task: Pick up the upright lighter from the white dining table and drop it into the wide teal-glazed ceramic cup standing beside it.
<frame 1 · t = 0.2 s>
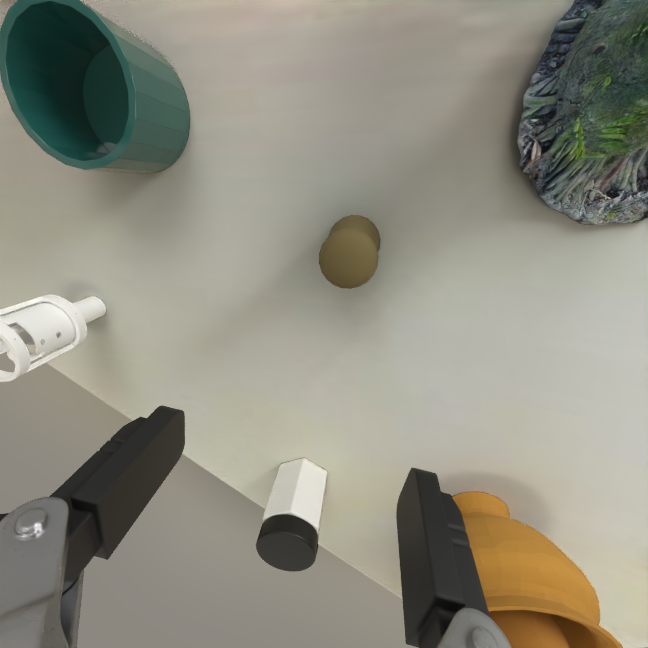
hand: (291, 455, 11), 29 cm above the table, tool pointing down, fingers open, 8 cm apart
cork: (353, 242, 36), on the table
jar: (303, 475, 52), on the table
ceramic cup: (136, 110, 34), on the table
decorative bowl: (473, 514, 50), on the table
tree stump: (616, 114, 29), on the table
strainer: (96, 306, 45), on the table
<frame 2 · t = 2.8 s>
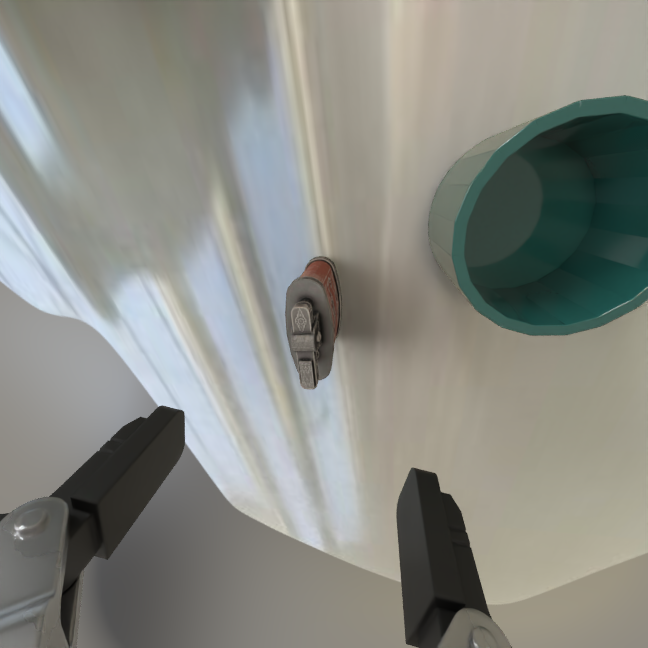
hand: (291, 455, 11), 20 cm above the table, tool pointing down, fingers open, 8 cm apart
ceramic cup: (508, 218, 25), on the table
lighter: (324, 298, 30), on the table
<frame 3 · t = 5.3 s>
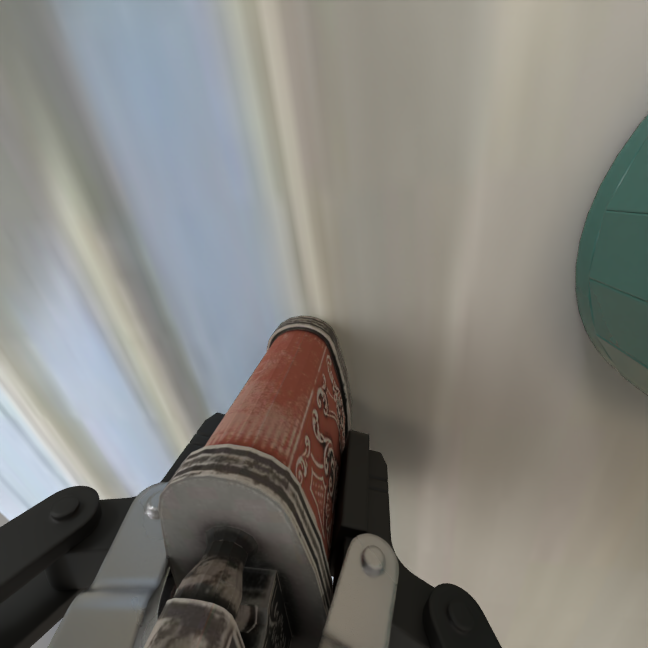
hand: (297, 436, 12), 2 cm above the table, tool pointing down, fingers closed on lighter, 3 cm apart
lighter: (313, 399, 14), on the table, touching gripper
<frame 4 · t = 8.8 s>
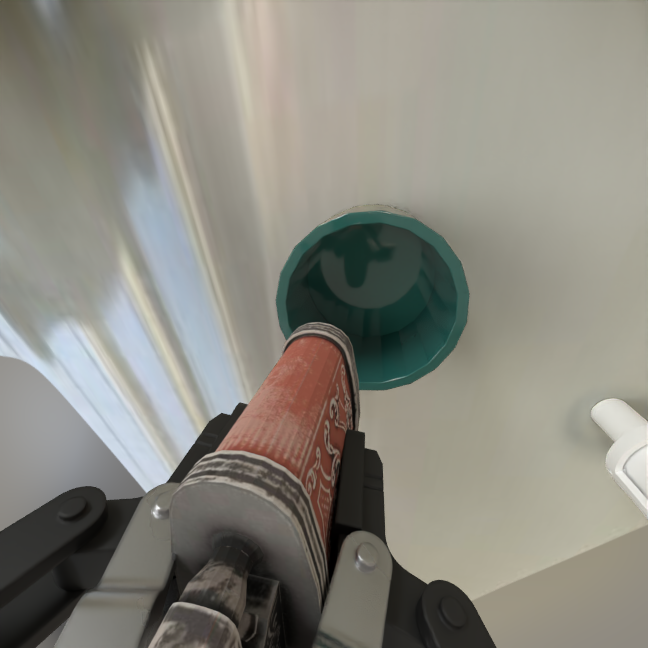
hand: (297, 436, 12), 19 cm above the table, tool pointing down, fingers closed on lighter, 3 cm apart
ceramic cup: (369, 277, 28), on the table
lighter: (322, 405, 14), point 16 cm above the table, touching gripper
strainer: (607, 410, 30), on the table
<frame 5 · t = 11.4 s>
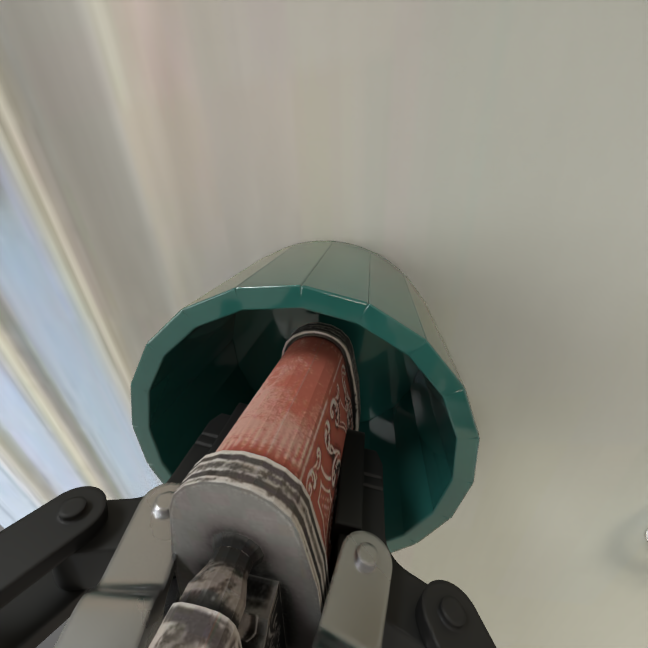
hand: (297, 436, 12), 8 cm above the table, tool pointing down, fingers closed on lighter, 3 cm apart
ceramic cup: (325, 344, 19), on the table
lighter: (322, 405, 14), point 5 cm above the table, touching gripper
when the fingers open (5 cm above the table, at t = 13.6 s): lighter stays where it is, point 3 cm above the table.
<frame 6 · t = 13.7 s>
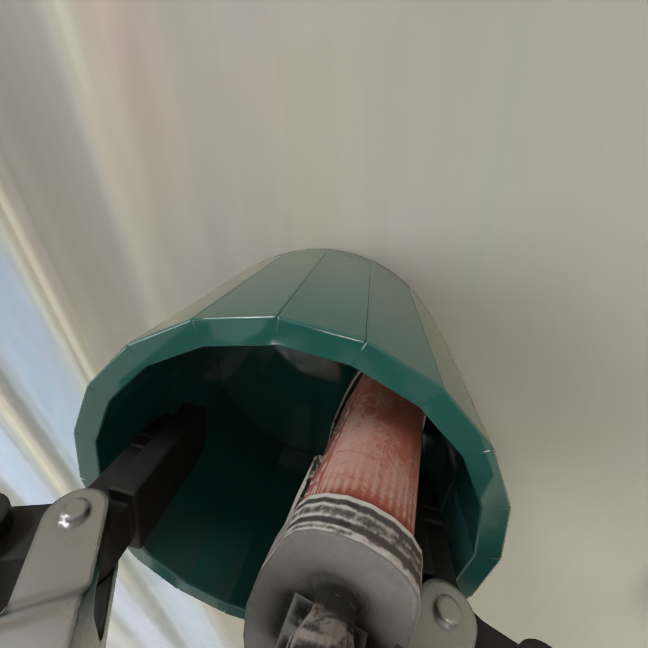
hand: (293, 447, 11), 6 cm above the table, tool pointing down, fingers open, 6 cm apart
ceramic cup: (321, 365, 17), on the table
lighter: (375, 422, 14), point 3 cm above the table
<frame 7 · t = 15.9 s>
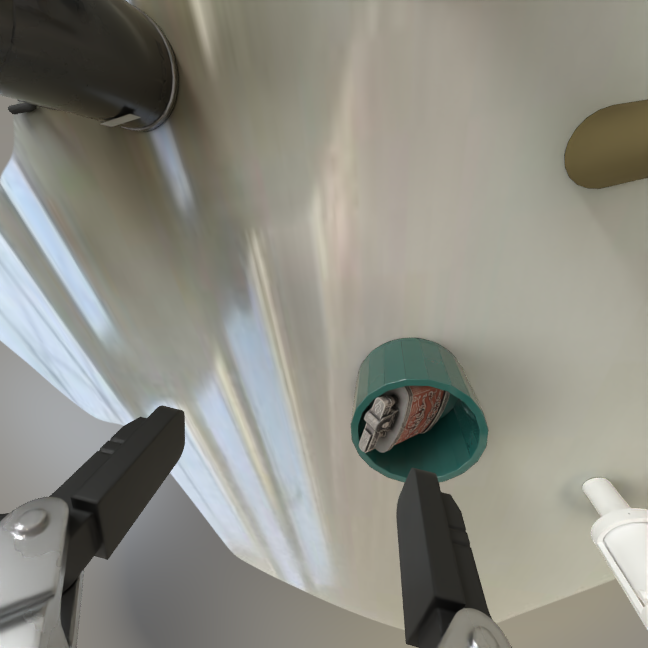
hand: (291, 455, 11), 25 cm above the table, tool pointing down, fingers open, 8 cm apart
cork: (605, 148, 26), on the table
ceramic cup: (409, 384, 37), on the table
lighter: (432, 400, 35), point 2 cm above the table, touching ceramic cup
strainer: (595, 485, 38), on the table
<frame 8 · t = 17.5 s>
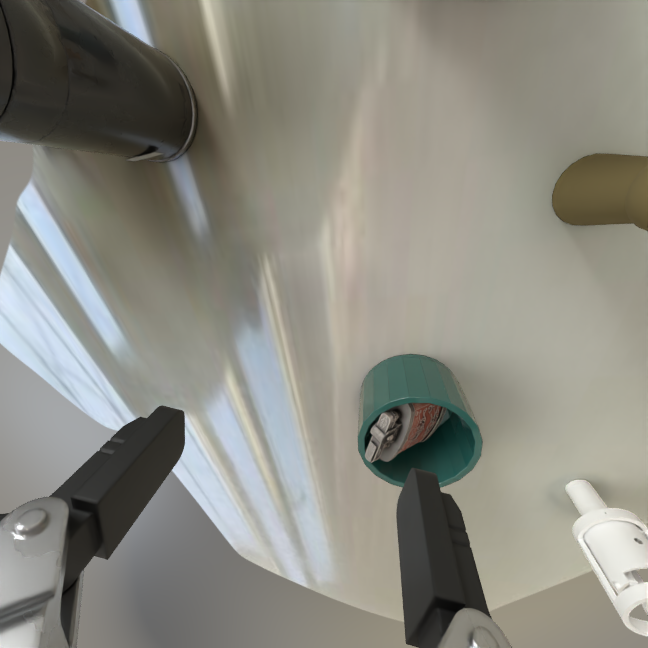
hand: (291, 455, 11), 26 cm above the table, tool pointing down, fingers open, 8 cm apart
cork: (587, 190, 29), on the table
ceramic cup: (409, 396, 40), on the table
lighter: (430, 411, 38), point 2 cm above the table, touching ceramic cup
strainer: (577, 486, 42), on the table
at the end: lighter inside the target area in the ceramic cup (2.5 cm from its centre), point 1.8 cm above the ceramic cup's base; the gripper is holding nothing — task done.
